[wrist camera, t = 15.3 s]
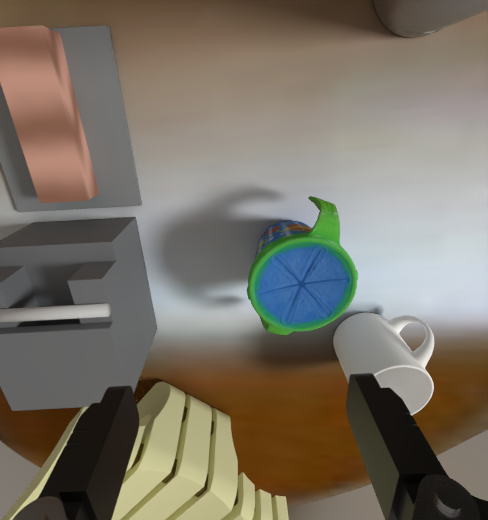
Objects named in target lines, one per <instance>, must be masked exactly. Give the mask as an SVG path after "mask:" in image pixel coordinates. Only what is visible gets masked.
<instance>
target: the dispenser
mask: <svg viewBox="0 0 488 520" xmlns="http://www.w3.org/2000/svg"><path fill="white" fill-rule="evenodd" d="M156 330H157V325H156V319H155V314H154V309H153V304H152V299H151V294H150V289H149V283H148V278H147V273H146V268H145V263H144V258H143V252H142V247H141V242H140V237H139V232H138V227H137V222H136V217H130V218H112V219H93V220H74V221H55V222H36V223H32V224H30V225H28V226H27V227H25V228H23V229H21V230H19V231H17V232H15V233H14V234H12V235H10V236H8V237H6V238H4V239H2V240H1V241H0V387H1V389H2V391H3V393H4V395H5V397H6V399H7V401H8V403H9V405H10V407H11V409H12V411H21V410H39V409H57V408H75V407H89V406H90V405H91V404H92V403H100V402H101V400H102V398H103V396H104V394H105V391H106V390H107V388H108V387H112V386H131V387H132V390H133V393H134V391H135V388H136V386H137V383H138V380H139V377H140V375H141V372H142V369H143V366H144V364H145V361H146V358H147V355H148V353H149V350H150V347H151V344H152V341H153V339H154V336H155V333H156Z"/></svg>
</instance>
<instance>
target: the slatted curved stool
mask: <svg viewBox="0 0 488 520" xmlns="http://www.w3.org/2000/svg"><path fill="white" fill-rule="evenodd" d="M87 408H88V407H82V408H81V410H80V411H79V412H78V413H77V415H76V416H75V417H74V418H73V419H72V421H71V422H70V423H69V425H68V426H67V428H66V430H65V432H64V433H63V435H62V437H61V438H60V440H59V442H58V443H57V445H56V447H55V448H54V450H53V451H52V453H51V454H50V456H49V457H48V459H47V460H46V462H45V463H44V465H43V466H42V468H41V469H40V471H39V472H38V473H37V475H36V476H35V478H34V479H33V480H32V482H31V483H30V484H29V486H28V487H27V488H26V489H25V491H24V492H23V493H22V495H21V496H20V497H19V498H18V500H17V501H16V502H15V504H14V505H13V506H12V507H11V508H10V510H9V511H8V512H7V514H6V515H5V516H4V517H3V519H2V520H12V519H13V518H14V517H15V516H16V514H17V513H18V512H19V511H20V510H22V509H23V508H24V507H25V506H26V505H28V504H29V503H31V502H33V501H34V500H36V499H37V498H38V497H39V495H40V493H41V492H42V490H43V488H44V486H45V484H46V482H47V480H48V478H49V476H50V474H51V472H52V470H53V468H54V466H55V464H56V462H57V460H58V458H59V456H60V454H61V453H62V451H63V449H64V447H65V446H66V445H67V441H68V439H69V437H70V435H71V433H73V429H74V427H75V425H76V423H77V421H78V419H79V417H80V416H81V415H82V414H83V413H84V411H85V410H86V409H87ZM137 409H138V413H139V430H138V434H137V437H136V441H135V444H134V447H133V450H132V454H131V457H130V460H129V464H128V467H127V470H126V473H125V477H124V480H123V483H122V487H121V490H120V493H119V496H118V500H117V503H116V506H115V510H114V513H113V516H112V519H111V520H120V519H121V518H122V517H123V518H122V519H121V520H289V518H288V510H287V503H286V497H283V496H275V497H273V498H272V499H271V494H269V493H267V492H265V491H263V490H261V489H259V490H258V491H256V492H255V487H254V484H253V483H252V482H251V481H250V480H249V479H248V478H247V477H246V475H245V474H244V473H243V472H242V473H241V474H240V475H239V476H238V460H237V456H236V453H235V449H234V445H233V440H232V435H231V422H230V416H228V415H226V414H224V413H222V412H221V411H219V410H217V409H215V408H211V407H210V406H209V405H207V404H206V403H204V402H202V401H200V400H198V399H196V398H194V397H192V396H190V395H189V394H186V395H185V393H184V392H183V391H181V390H179V389H177V388H175V387H174V386H172V385H170V384H168V383H166V382H158V383H156V384H155V385H154V386H153V387H152V388H151V389H150V391H149V392H148V393H147V394H146V395H145V396H144V397H143V398H142V400H141V401H140V402H139V403H138V404H137ZM124 515H125V516H124Z"/></svg>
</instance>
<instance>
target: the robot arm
mask: <svg viewBox="0 0 488 520" xmlns="http://www.w3.org/2000/svg"><path fill="white" fill-rule="evenodd" d="M373 2H374V6H375V10H376V12H377V14H378V16H379V18H380V20H381V21H382V23H383V24H384V25H385V26H386V27H387V28H388V29H389V30H390V31H392V32H393V33H395V34H397V35H400V36H403V37H410V38H415V37H421V36H425V35H428V34H430V33H434V32H437V31H439V30H442V29H444V28H446V27H448V26H450V25H453V24H455V23H458V22H460V21H463V20H465V19H467V18H470V17H472V16H475V15H477V14H479V13H482V12H484V11H487V10H488V0H373ZM346 410H347V416H348V420H349V423H350V426H351V429H352V431H353V434H354V437H355V439H356V442H357V445H358V447H359V450H360V453H361V456H362V458H363V461H364V464H365V466H366V469H367V472H368V474H369V477H370V480H371V482H372V485H373V488H374V490H375V493H376V496H377V499H378V501H379V504H380V507H381V509H382V512H383V515H384V517H385V520H488V501H485V500H482V499H478V498H476V497H474V496H472V495H470V493H469V492H468V491H467V490H466V489H465V488H464V487H463V486H462V485H460V484H459V483H458V482H456V481H455V480H453V479H451V478H449V476H448V475H447V474H446V472H445V471H444V469H443V467H442V466H441V464H440V462H439V461H438V459H437V457H436V456H435V454H434V452H433V450H432V449H431V447H430V445H429V444H428V442H427V440H426V439H425V437H424V435H423V433H422V432H421V430H420V428H419V427H417V423H416V422H415V420H414V418H413V416H412V415H410V411H409V410H408V408H407V406H406V405H405V403H404V401H403V399H402V398H401V397H399V396H398V395H397V394H396V393H395V392H394V391H393V390H392V389H391V388H389V387H388V388H381V387H380V385H379V383H378V382H377V380H376V378H375V376H374V375H373V374H372V373H361V374H351V375H350V377H349V384H348V393H347V401H346ZM138 430H139V413H138V409H137V405H136V401H135V397H134V393H133V390H132V387H131V386H112V387H108V388H107V390H106V391H105V394H104V396H103V398H102V400H101V402H100V403H92V404H91V405H90V406H89V407H88V408H87V409H86V410H85V411H84V413H83V414H82V415H81V416H80V417H79V419H78V421H77V423H76V425H75V427H74V429H73V433H71V435H70V437H69V439H68V441H67V445H66V446H65V447H64V449H63V451H62V453H61V454H60V456H59V458H58V460H57V462H56V464H55V466H54V468H53V470H52V472H51V474H50V476H49V478H48V480H47V482H46V484H45V486H44V488H43V490H42V492H41V493H40V495H39V497H38V498H37V499H36V500H34V501H33V502H31V503H29V504H28V505H26V506H25V507H24V508H23V509H22V510H20V511H19V512H18V513H17V514H16V516H15V517H14V518H13V519H12V520H111V519H112V516H113V513H114V510H115V506H116V503H117V500H118V496H119V493H120V490H121V487H122V483H123V480H124V477H125V473H126V470H127V467H128V464H129V460H130V457H131V454H132V450H133V447H134V444H135V441H136V437H137V434H138Z"/></svg>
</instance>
